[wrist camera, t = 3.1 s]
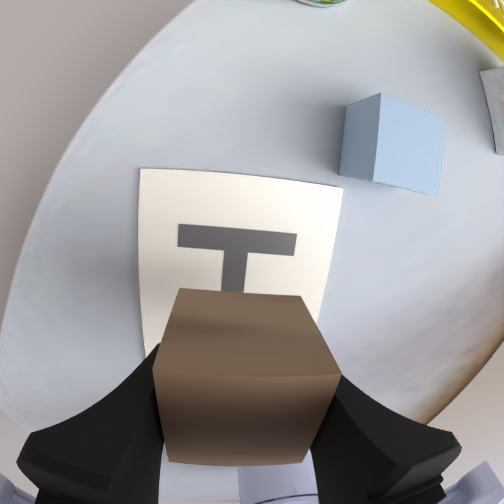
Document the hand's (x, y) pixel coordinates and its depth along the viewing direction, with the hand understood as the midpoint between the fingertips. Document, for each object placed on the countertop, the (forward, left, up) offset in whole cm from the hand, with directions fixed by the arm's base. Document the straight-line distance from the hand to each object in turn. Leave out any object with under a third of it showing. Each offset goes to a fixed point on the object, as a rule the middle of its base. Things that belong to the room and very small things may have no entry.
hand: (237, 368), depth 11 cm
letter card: (0, 0, -8) cm, 8 cm away
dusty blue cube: (+10, -8, -8) cm, 15 cm away
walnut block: (0, 0, -2) cm, 2 cm away
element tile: (+33, -20, -8) cm, 39 cm away
